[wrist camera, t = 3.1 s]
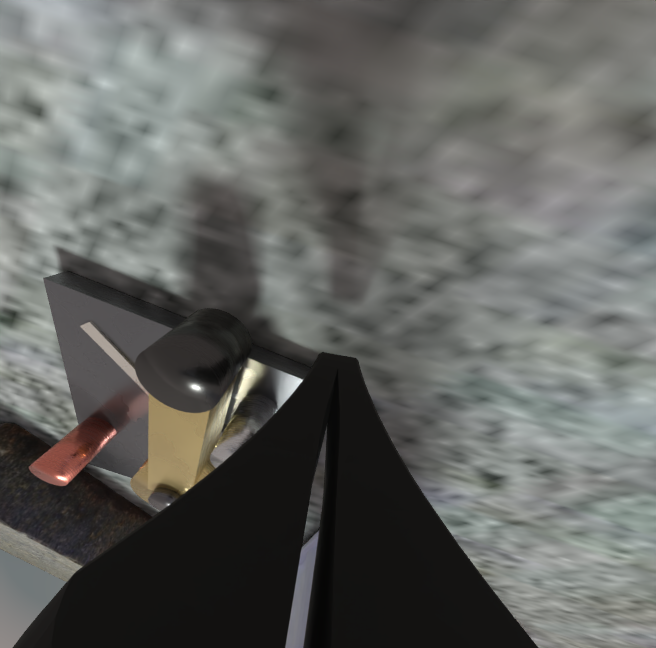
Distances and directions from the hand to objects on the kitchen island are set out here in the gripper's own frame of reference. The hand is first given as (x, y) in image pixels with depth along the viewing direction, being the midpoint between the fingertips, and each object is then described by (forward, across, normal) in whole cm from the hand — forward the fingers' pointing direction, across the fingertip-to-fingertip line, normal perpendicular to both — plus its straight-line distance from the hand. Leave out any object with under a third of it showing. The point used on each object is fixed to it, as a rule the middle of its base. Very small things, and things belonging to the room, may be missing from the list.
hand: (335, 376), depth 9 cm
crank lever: (+1, +6, +5) cm, 8 cm away
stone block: (+3, +24, +24) cm, 34 cm away
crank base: (+3, +7, +9) cm, 12 cm away
